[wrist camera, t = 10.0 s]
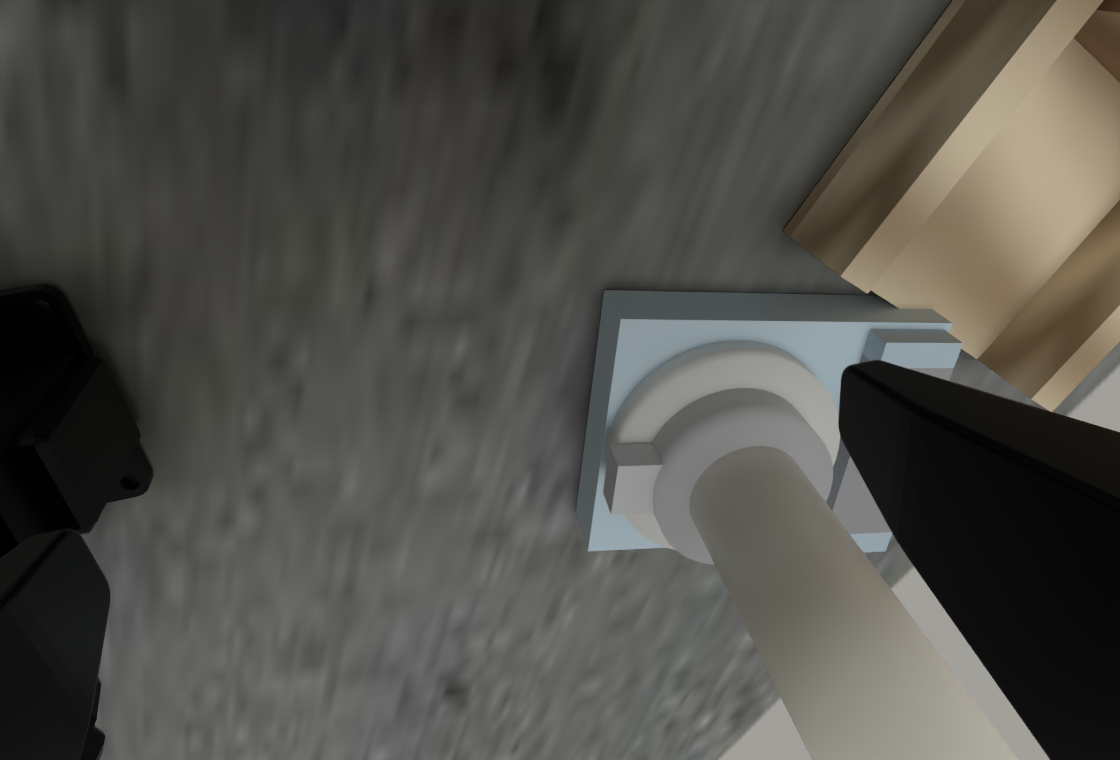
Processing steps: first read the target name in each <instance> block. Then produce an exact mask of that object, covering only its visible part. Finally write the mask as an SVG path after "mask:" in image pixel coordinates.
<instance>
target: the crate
mask: <svg viewBox="0 0 1120 760" xmlns="http://www.w3.org/2000/svg"><path fill="white" fill-rule="evenodd" d="M1074 39H1075V40H1076V41H1077V42H1078V43H1079V44H1081V45H1082V46H1083V47H1084V48H1085V49H1086V50H1087V51H1088V52H1089V53H1090V54H1091V55H1092V56H1093V57H1094V58H1095V59H1096V60H1097V61H1098V62H1099V63H1100V64H1101V65H1102V66H1103V67H1104V68H1105V69H1106V70H1107V71H1108V72H1109V73H1110V74H1111V75H1112V76H1113V77H1114V78H1115V79H1116V80H1117V81H1118V82H1119V83H1120V0H1103V2H1102V3H1101V4H1100V5H1099V7H1098V8H1097V9H1096V10H1095V12H1094V13H1093V14H1092V15H1091V17H1090V18H1089V19H1088V20H1087V22H1086V23H1085V24H1084V25H1083V27H1082V28H1081V29H1080V30H1079V32H1078V33H1077V34H1076V35H1075V37H1074Z"/></svg>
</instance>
